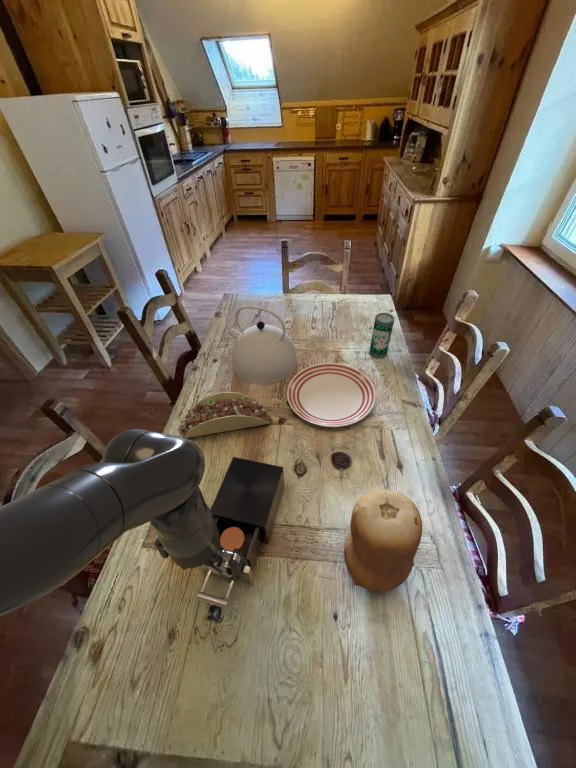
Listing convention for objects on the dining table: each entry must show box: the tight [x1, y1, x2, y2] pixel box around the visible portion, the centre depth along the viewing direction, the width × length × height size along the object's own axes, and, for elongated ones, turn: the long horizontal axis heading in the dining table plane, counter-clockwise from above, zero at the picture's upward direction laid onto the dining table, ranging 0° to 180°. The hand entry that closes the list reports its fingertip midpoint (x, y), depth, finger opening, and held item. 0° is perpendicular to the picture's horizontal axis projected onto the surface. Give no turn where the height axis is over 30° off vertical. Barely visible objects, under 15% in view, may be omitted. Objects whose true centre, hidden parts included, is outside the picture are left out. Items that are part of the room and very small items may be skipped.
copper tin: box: [220, 527, 247, 556], centre depth 73 cm, size 5×5×5 cm
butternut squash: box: [343, 489, 423, 595], centre depth 64 cm, size 14×13×25 cm
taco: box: [178, 391, 272, 439], centre depth 97 cm, size 10×27×10 cm, turn 101°
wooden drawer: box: [196, 517, 263, 609], centre depth 71 cm, size 19×11×7 cm, turn 166°
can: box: [368, 312, 395, 359], centre depth 118 cm, size 6×6×15 cm
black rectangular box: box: [209, 456, 286, 545], centre depth 80 cm, size 15×13×9 cm
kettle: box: [226, 305, 297, 386], centre depth 114 cm, size 25×23×22 cm
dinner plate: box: [286, 362, 377, 428], centre depth 107 cm, size 28×27×3 cm
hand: (209, 570), depth 60 cm, fingers open, 8 cm apart
